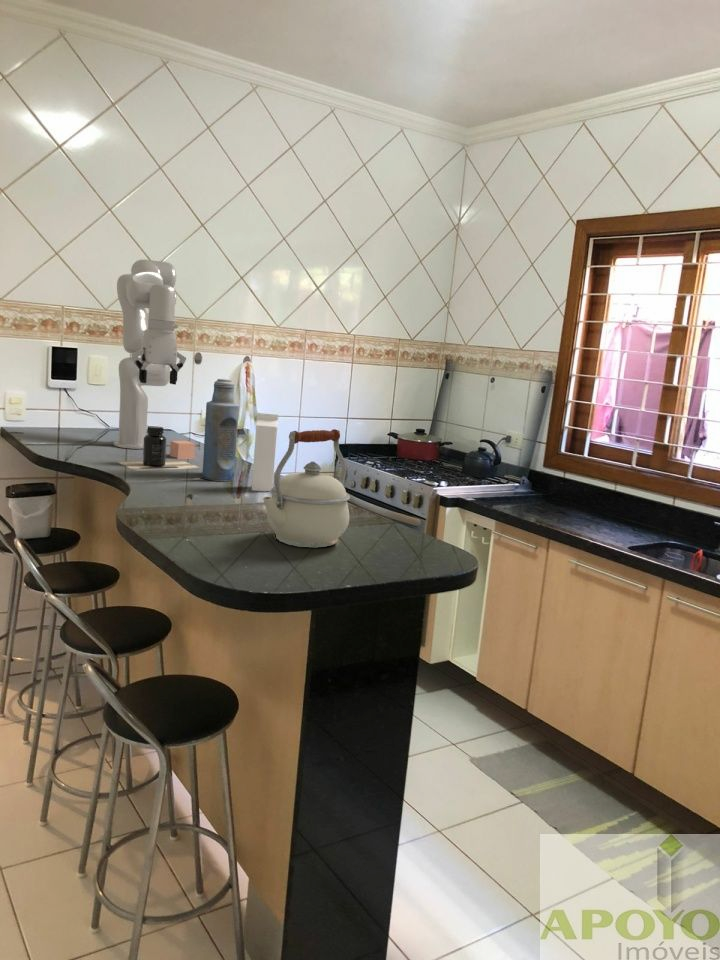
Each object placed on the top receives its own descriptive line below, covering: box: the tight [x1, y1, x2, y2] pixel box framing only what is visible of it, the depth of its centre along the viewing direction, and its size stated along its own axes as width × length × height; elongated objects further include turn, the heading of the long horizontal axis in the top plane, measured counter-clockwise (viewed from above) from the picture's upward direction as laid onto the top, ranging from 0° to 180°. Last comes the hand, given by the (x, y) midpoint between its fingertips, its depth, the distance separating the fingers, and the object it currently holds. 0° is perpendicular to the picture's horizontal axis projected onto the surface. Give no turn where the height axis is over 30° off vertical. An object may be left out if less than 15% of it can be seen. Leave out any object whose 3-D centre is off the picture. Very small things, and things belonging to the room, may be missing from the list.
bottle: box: [201, 378, 240, 482], centre depth 230 cm, size 10×10×30 cm
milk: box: [251, 412, 279, 492], centre depth 221 cm, size 6×6×22 cm
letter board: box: [117, 459, 201, 472], centre depth 240 cm, size 14×22×1 cm, turn 130°
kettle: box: [262, 428, 351, 543], centre depth 168 cm, size 25×18×25 cm
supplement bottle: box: [142, 425, 167, 467], centre depth 238 cm, size 7×7×12 cm
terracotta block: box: [169, 440, 196, 460], centre depth 258 cm, size 6×6×6 cm
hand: (158, 383), depth 234 cm, fingers open, 9 cm apart
